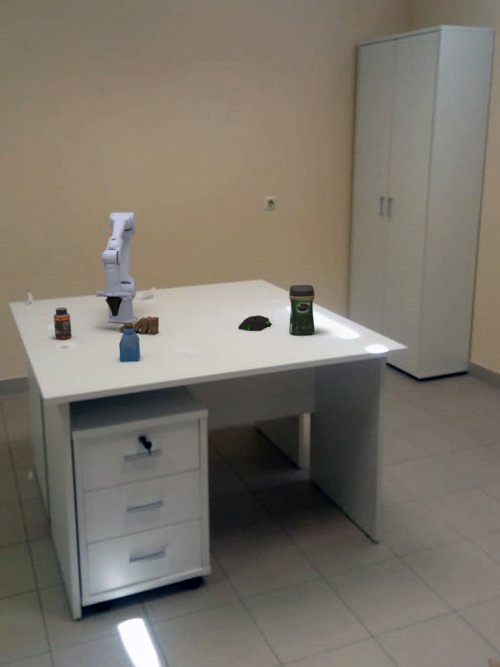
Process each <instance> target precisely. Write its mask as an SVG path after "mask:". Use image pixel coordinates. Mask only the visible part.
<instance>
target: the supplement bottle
mask: <svg viewBox="0 0 500 667" xmlns="http://www.w3.org/2000/svg"><path fill="white" fill-rule="evenodd" d="M53 323H54V324H53V326H54V337H55V338H56V339H57V340H63V341H64V340H69V339H70V338H72V326H71V325H72V324H71V315H70V313H68V308H67V307H57V308H55V314H54V315H53Z"/></svg>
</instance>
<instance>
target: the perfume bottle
mask: <svg viewBox="0 0 500 667" xmlns="http://www.w3.org/2000/svg"><path fill="white" fill-rule="evenodd" d="M123 326H124V332H122V335H121V338H120V340H119V343H118V344H119V346H118V347H119V362H121V363H122V362H125V363H127V362H140V358H141V346H140V337H139V336H138V335H137V332H133V331H134V327H133V324H132V323H123Z"/></svg>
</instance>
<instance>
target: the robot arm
mask: <svg viewBox="0 0 500 667" xmlns="http://www.w3.org/2000/svg"><path fill="white" fill-rule="evenodd" d="M108 217H109V220H108V221H109V225H110V228H111V231H112V232H111V233H112V234H111V236H110V237H108V239H107V240H108V241H107V244H106V248H105V250H104V251H102V254H101V258H102V260H101V261H102V264H103V270H104V274H105V276H104V278H105V290H98V291H95V297H97V298H99V297H101V298H102V297H103V298H105V302H106V304H107V305H108V306H107V310H108V321H107V322H108V323H119V324H120V323H121V324H126V323H129V322H131V321H133V320H135V319H136V320H138V317H134V307H133V306H134V305H133V303H134V302H133V299H135V298H136V295H137V286H136V281H135V279H134V278H133V277H131V276H130V261H131V260H130V256H131V240H132V236H134V235H136V230H137V216H136V214H135V212H133V211H132V212H114V211H113V212H112V211H111V212H110V214H109V216H108Z"/></svg>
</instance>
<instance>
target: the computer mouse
mask: <svg viewBox="0 0 500 667" xmlns="http://www.w3.org/2000/svg"><path fill="white" fill-rule="evenodd" d="M270 321H271V320H270V318H269V317H266V316H262V315H259V314H257V315H252V316H248V317H246V318H245V319H243V321H242V322H241V323H240V324H239V325H238V330H241V331H246V332H261V330H262V331H264V330H265V328H266V329H268V328H267V327H269V328H271V327H272V326H273V324H272V323H271V322H270ZM271 325H272V326H271ZM270 326H271V327H270ZM263 329H264V330H263Z"/></svg>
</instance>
